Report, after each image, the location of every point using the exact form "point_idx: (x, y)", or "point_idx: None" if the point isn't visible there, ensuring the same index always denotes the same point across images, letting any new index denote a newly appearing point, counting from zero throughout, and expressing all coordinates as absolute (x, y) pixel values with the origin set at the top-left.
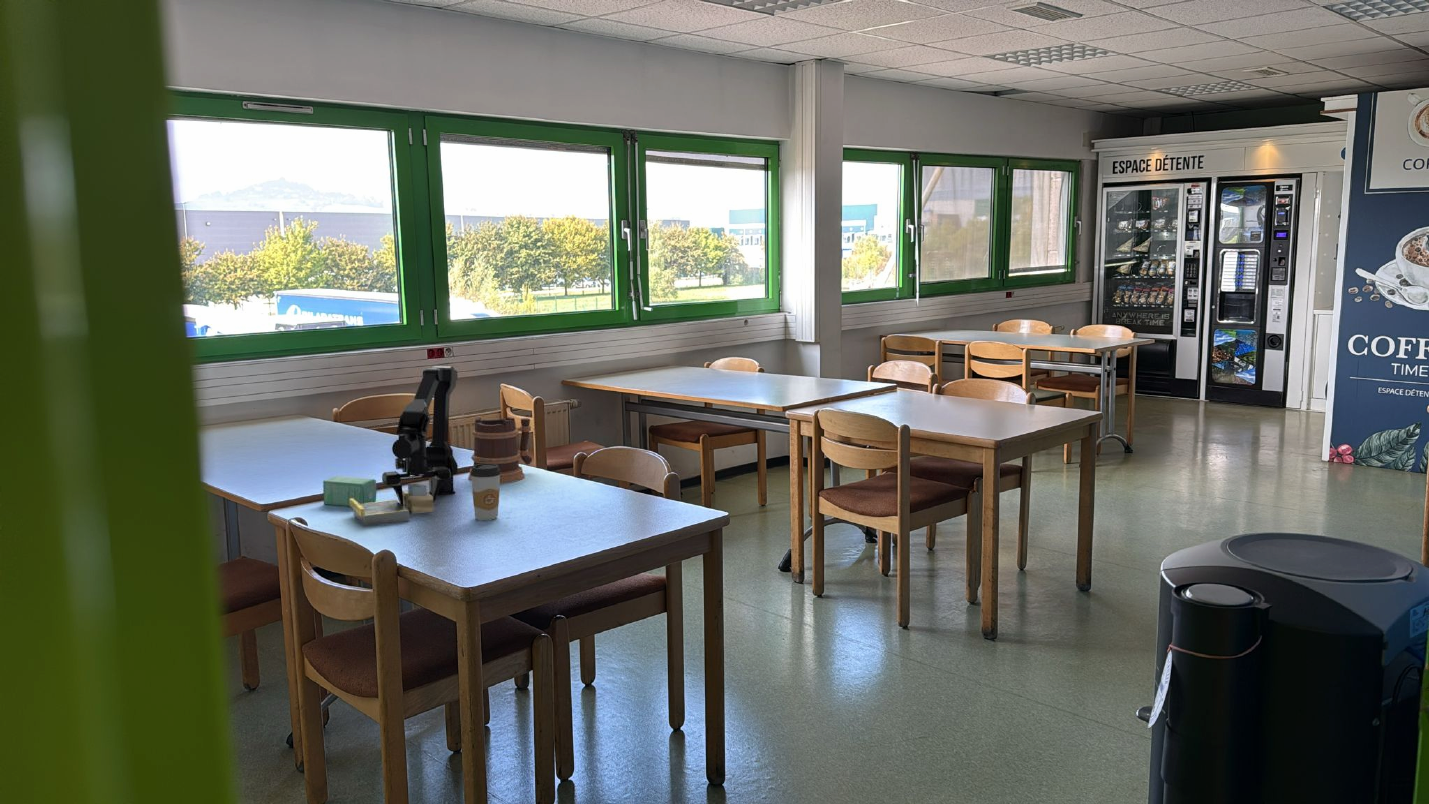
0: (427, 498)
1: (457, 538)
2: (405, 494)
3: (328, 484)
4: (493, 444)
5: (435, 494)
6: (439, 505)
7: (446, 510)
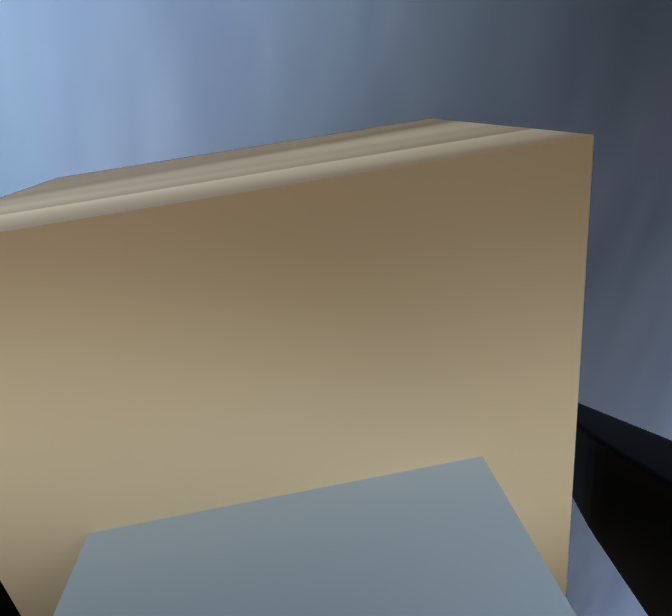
0: None
1: None
2: (26, 574)
3: None
4: None
5: (665, 613)
6: (615, 346)
7: (596, 575)
